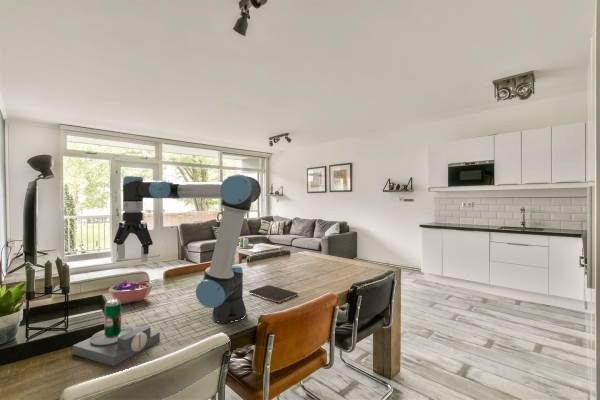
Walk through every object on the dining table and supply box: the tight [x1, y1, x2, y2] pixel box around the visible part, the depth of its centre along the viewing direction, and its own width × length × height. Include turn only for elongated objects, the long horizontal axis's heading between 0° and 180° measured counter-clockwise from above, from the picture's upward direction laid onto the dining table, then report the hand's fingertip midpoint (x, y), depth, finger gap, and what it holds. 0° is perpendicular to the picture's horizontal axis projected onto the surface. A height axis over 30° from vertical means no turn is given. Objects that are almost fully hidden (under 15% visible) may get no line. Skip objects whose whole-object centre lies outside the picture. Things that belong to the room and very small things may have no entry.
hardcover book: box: [248, 284, 299, 303], centre depth 159 cm, size 16×23×2 cm
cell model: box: [108, 280, 153, 305], centre depth 146 cm, size 17×20×11 cm
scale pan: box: [90, 326, 133, 346], centre depth 103 cm, size 13×13×1 cm
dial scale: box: [72, 323, 161, 367], centre depth 102 cm, size 21×18×7 cm
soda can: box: [103, 299, 122, 337], centre depth 103 cm, size 5×5×12 cm
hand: (132, 260), depth 123 cm, fingers open, 13 cm apart
